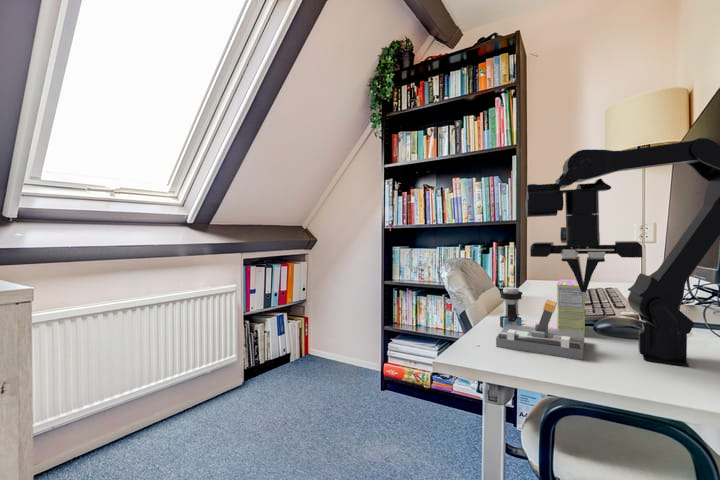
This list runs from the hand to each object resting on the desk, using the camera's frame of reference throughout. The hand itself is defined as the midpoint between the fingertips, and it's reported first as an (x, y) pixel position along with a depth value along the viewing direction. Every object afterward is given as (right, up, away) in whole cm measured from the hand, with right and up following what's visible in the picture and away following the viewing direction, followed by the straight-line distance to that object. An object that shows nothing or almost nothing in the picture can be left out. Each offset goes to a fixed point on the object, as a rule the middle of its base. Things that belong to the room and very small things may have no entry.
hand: (583, 292), depth 74 cm
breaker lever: (-7, -10, +5) cm, 13 cm away
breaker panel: (-6, -12, +6) cm, 15 cm away
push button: (-6, -12, +19) cm, 23 cm away
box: (+7, -12, +16) cm, 21 cm away
